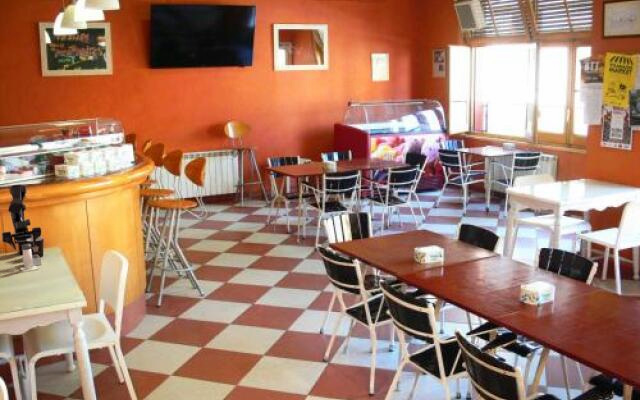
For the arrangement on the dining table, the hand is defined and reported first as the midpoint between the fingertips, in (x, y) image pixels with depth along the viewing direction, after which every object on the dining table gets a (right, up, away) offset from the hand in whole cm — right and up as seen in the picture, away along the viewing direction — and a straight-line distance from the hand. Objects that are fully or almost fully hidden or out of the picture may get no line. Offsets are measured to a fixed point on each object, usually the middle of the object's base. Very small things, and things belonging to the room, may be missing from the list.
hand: (25, 248), depth 342 cm
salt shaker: (+3, -10, -2) cm, 11 cm away
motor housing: (+1, -9, +6) cm, 11 cm away
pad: (+3, -11, -2) cm, 11 cm away
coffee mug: (-4, -6, +21) cm, 22 cm away
